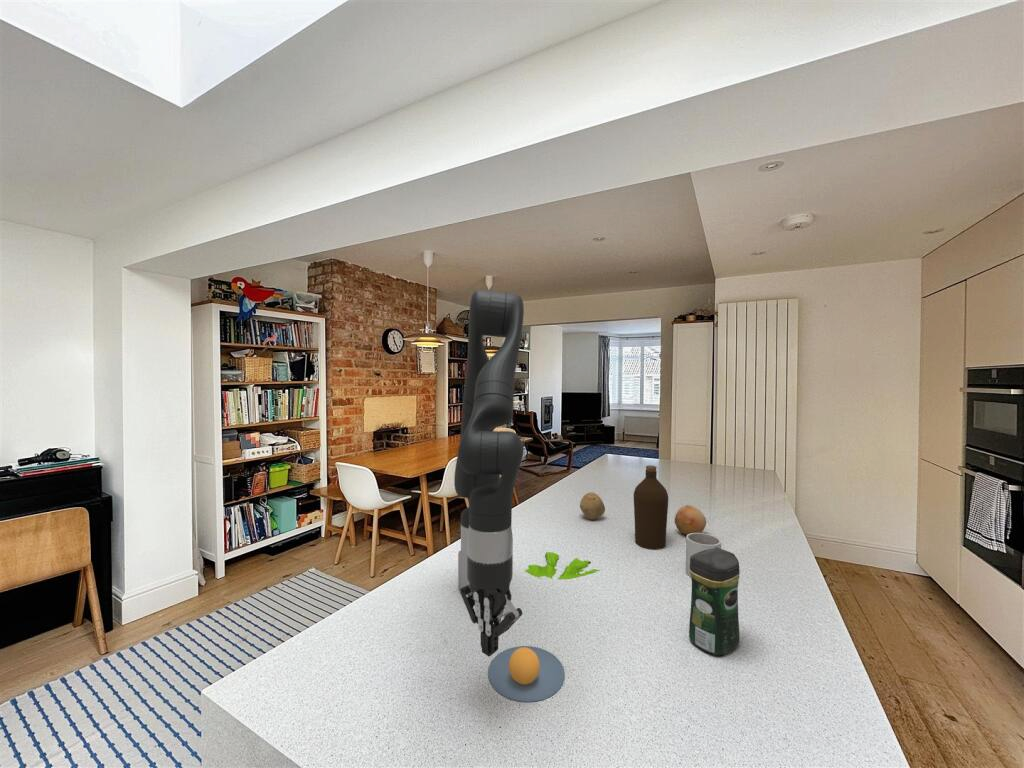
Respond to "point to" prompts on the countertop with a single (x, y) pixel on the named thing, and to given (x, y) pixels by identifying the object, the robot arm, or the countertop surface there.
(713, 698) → the countertop surface
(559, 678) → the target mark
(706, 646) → the coffee jar
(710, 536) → the mug
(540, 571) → the leaves
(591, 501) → the potato
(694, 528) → the onion
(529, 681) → the ball
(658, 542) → the olive oil
